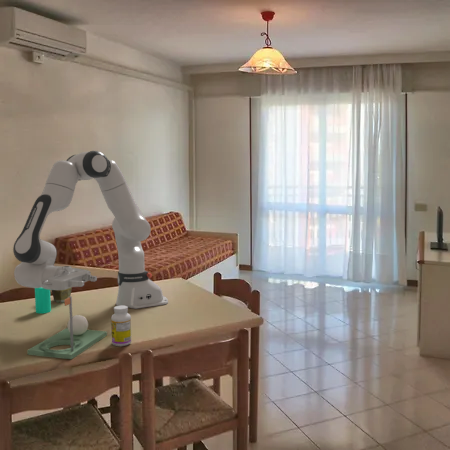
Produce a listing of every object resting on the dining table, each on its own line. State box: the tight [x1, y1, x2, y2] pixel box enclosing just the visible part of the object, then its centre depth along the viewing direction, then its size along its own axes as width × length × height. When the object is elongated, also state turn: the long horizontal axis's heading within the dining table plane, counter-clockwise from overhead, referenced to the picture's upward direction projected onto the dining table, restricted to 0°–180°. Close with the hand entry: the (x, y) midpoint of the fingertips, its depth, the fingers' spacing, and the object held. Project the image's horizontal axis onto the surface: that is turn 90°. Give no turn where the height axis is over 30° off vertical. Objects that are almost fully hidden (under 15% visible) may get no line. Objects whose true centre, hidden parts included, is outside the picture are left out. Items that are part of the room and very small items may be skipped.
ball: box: [67, 314, 89, 335], centre depth 192 cm, size 7×7×7 cm
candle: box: [34, 288, 52, 315], centre depth 226 cm, size 6×6×12 cm
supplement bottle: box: [110, 305, 132, 347], centre depth 187 cm, size 7×7×13 cm
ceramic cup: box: [51, 287, 73, 303], centre depth 244 cm, size 13×10×10 cm
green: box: [27, 296, 108, 360], centre depth 185 cm, size 24×16×20 cm, turn 165°
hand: (89, 281), depth 199 cm, fingers open, 8 cm apart
